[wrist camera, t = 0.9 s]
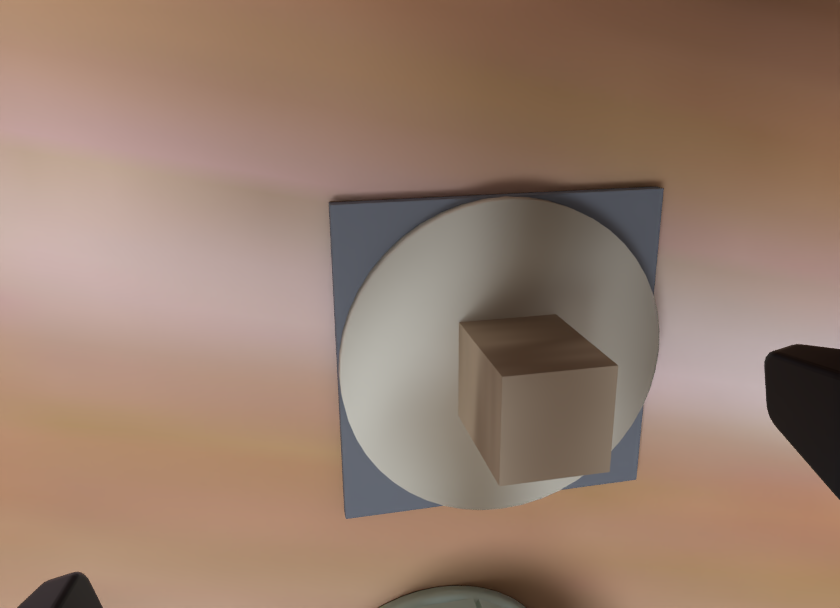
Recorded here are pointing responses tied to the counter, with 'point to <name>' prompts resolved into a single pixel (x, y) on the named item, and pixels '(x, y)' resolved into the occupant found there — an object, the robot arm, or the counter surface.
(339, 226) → the mat
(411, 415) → the lid
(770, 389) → the robot arm
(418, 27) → the counter surface
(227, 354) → the counter surface
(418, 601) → the bowl
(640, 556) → the counter surface
